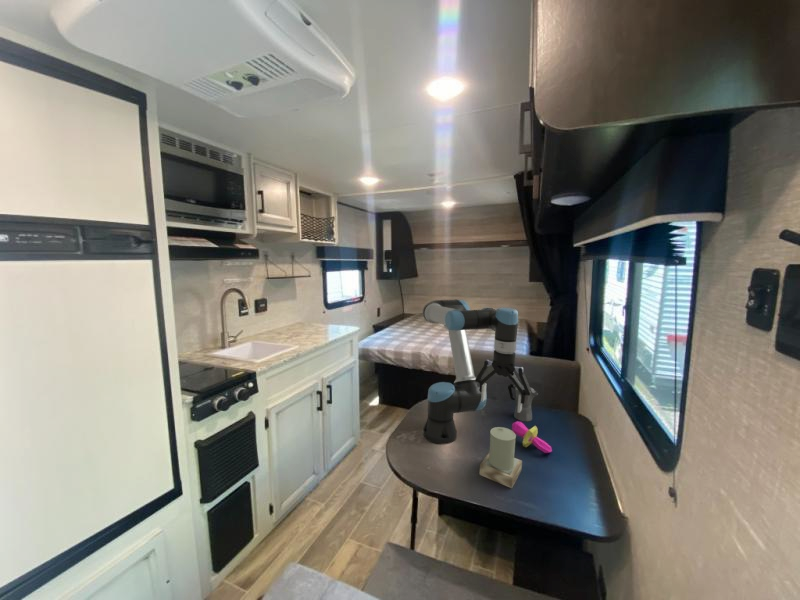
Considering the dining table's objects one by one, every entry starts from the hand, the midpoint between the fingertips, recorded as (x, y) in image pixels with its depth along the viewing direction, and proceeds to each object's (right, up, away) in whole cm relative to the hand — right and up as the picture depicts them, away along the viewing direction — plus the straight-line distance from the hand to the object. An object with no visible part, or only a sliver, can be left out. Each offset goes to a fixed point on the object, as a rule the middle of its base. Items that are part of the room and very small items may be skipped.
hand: (500, 405), depth 119 cm
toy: (+18, -24, +18) cm, 35 cm away
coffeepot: (+24, -20, +44) cm, 54 cm away
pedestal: (0, -26, +1) cm, 26 cm away
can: (0, -22, +1) cm, 22 cm away
